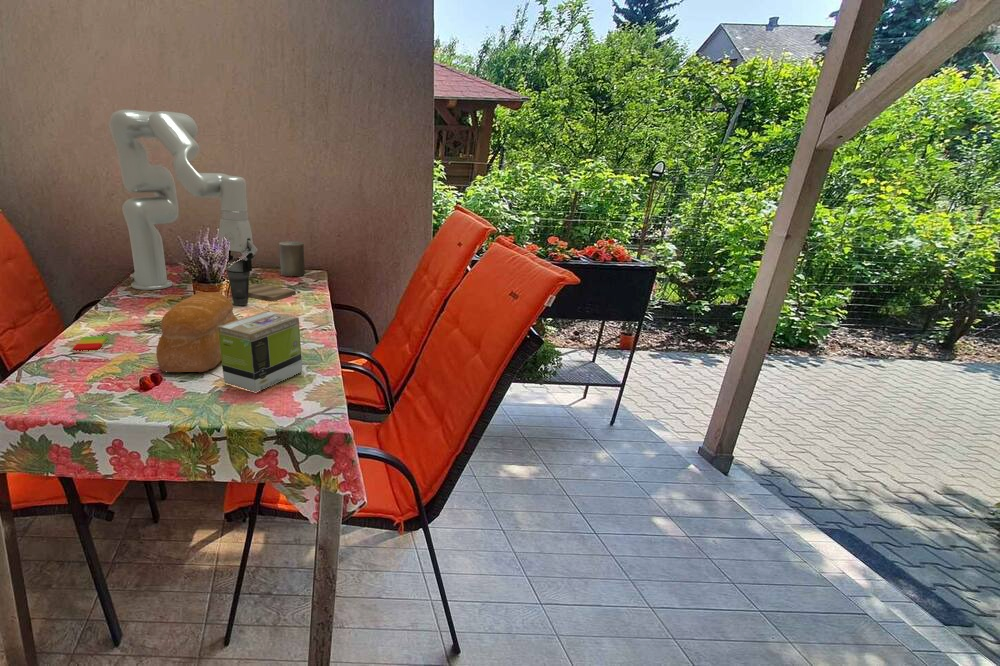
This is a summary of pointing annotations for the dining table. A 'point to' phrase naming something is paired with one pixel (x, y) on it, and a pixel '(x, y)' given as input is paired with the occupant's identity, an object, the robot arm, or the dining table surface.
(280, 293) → the walnut board
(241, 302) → the beverage cup
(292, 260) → the pillar candle
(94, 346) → the popsicle
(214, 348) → the bread
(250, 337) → the tea box
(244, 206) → the robot arm
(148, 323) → the dining table surface
